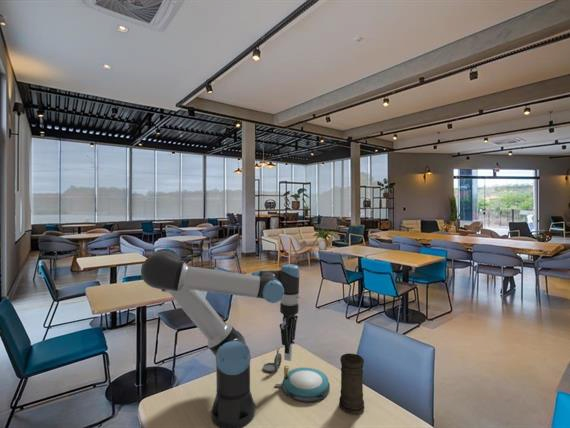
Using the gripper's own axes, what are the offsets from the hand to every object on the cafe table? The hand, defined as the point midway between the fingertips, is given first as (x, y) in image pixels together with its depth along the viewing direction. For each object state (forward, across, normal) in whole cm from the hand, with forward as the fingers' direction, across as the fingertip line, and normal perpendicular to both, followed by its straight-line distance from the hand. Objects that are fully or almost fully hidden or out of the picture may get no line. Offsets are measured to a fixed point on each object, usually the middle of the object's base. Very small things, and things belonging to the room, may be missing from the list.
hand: (288, 359), depth 127 cm
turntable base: (+10, 0, -7) cm, 12 cm away
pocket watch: (+10, +7, +10) cm, 16 cm away
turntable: (+8, +1, -8) cm, 11 cm away
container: (+10, -3, -27) cm, 29 cm away
